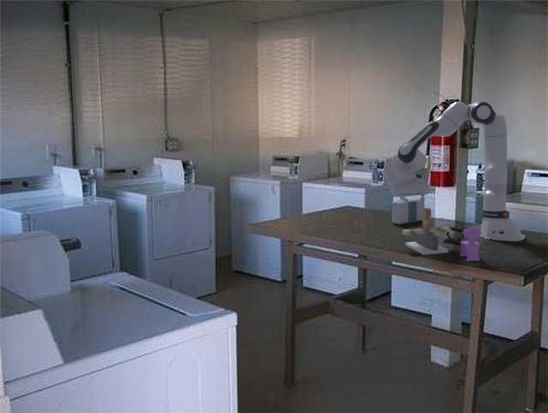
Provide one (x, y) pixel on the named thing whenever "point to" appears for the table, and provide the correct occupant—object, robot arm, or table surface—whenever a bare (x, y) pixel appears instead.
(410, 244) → the ridge stand
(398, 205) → the stereo radio cassette player
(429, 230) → the balance beam
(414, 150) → the robot arm
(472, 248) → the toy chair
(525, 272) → the table surface
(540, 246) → the table surface
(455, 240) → the clothes iron
